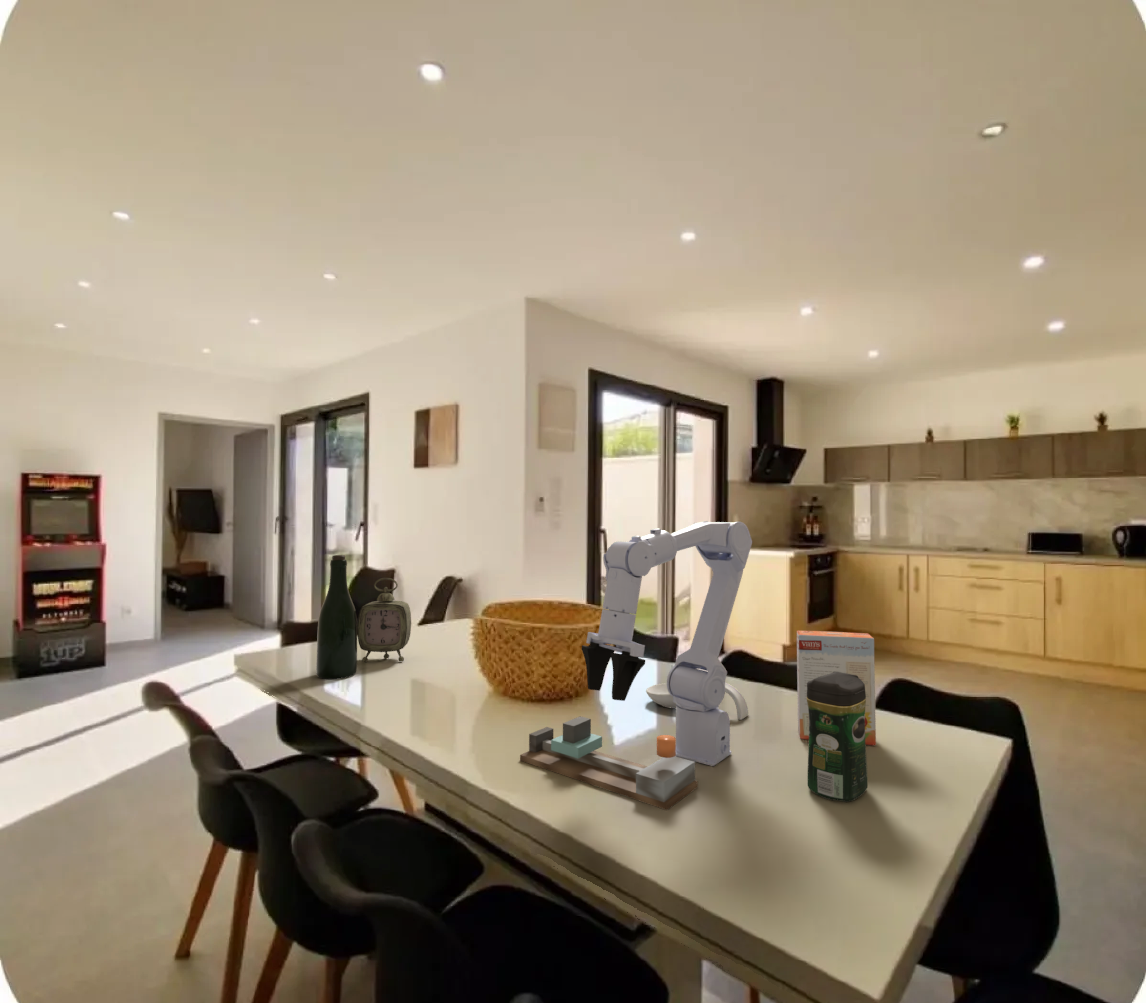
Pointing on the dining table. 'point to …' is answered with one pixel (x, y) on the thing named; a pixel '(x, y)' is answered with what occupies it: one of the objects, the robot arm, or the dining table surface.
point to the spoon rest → (665, 699)
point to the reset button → (666, 746)
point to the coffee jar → (837, 736)
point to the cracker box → (835, 669)
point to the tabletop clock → (384, 624)
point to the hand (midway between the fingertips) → (605, 694)
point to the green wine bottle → (337, 627)
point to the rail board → (617, 772)
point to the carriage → (576, 738)
